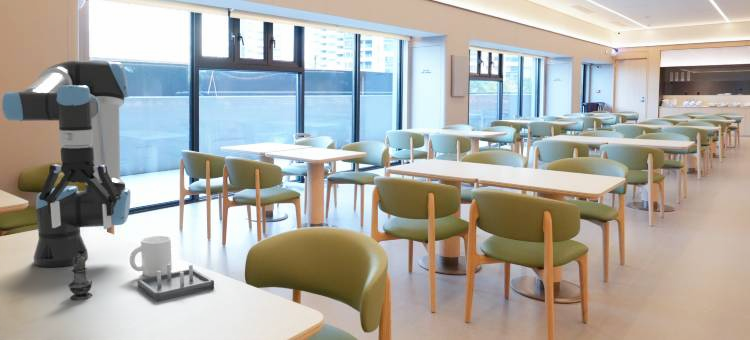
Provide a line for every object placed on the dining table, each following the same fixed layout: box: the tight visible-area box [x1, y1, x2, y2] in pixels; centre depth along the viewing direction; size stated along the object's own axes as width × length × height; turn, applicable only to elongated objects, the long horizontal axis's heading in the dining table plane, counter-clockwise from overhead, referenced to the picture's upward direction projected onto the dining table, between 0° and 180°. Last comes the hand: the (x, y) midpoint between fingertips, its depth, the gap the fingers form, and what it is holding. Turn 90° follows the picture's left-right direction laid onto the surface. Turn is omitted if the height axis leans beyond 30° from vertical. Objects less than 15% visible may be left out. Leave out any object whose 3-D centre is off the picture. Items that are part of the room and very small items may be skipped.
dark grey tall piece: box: [67, 253, 94, 301], centre depth 155 cm, size 6×6×12 cm
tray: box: [136, 264, 215, 303], centre depth 163 cm, size 14×16×6 cm
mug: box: [129, 235, 173, 278], centre depth 174 cm, size 12×8×10 cm
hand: (82, 227), depth 154 cm, fingers open, 13 cm apart
